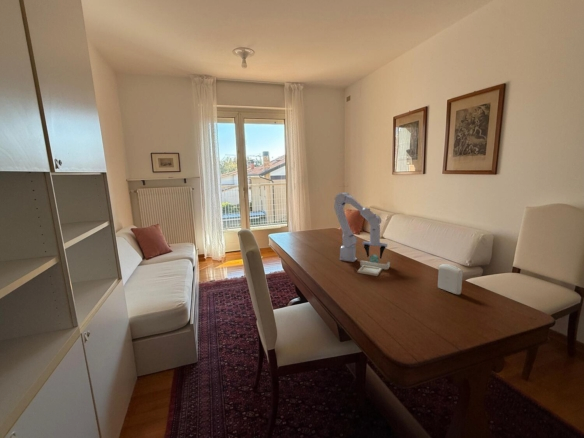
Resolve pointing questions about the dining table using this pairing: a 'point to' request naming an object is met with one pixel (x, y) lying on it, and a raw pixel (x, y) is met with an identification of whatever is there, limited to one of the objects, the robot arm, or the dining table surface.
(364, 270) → the white tray
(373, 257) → the ball
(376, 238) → the robot arm
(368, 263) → the wall
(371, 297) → the dining table surface
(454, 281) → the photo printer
